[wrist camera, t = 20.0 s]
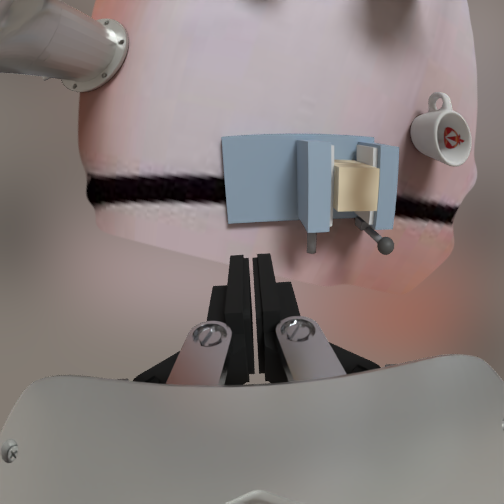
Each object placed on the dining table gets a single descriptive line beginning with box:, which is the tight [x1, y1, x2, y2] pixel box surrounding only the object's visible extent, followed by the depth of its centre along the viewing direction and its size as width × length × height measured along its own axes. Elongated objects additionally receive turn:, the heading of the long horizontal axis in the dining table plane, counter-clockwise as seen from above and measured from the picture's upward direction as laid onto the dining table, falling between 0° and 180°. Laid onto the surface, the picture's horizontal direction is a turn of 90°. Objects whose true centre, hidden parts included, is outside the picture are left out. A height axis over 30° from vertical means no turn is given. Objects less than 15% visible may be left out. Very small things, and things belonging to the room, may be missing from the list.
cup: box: [411, 92, 471, 166], centre depth 29 cm, size 11×8×8 cm
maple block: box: [333, 160, 380, 212], centre depth 31 cm, size 5×5×8 cm
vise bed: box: [222, 134, 399, 255], centre depth 32 cm, size 21×14×10 cm
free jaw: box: [296, 140, 334, 254], centre depth 33 cm, size 3×14×7 cm, turn 3°
